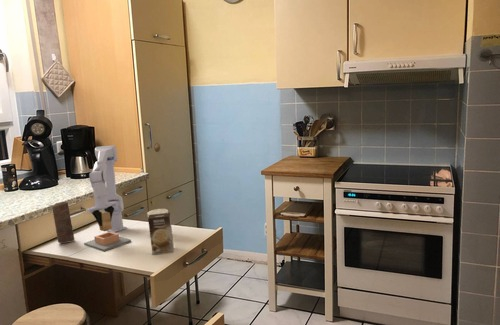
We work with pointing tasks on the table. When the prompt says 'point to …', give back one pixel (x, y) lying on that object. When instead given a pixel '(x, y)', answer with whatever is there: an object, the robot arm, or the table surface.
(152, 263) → the table surface
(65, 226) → the brown tall block
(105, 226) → the oak peg
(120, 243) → the collar board
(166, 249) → the coffee box
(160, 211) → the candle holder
